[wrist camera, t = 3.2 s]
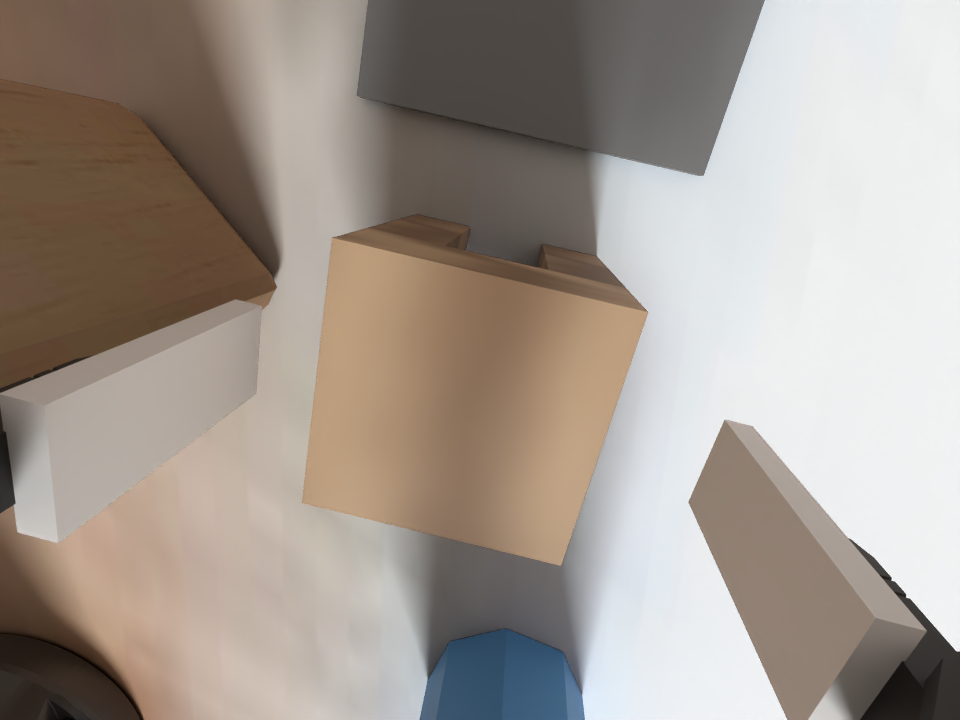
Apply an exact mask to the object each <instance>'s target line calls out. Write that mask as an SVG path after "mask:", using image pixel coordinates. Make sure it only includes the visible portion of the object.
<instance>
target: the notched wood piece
mask: <svg viewBox="0 0 960 720" xmlns="http://www.w3.org/2000/svg"><path fill="white" fill-rule="evenodd" d="M469 232H470V227H469V226H464V225H460V224H456V223H452V222H447V221H443V220H439V219H434V218H430V217H426V216H422V215H417V214H416V215H412V216H409V217H405V218H402V219H398V220H394V221H391V222H387V223H384V224H380V225H376V226H373V227H369V228H366V229H362V230H359V231H355V232H351V233H348V234H344V235H341V236H337V237H333V238H332V244H331V253H330V262H329V271H328V279H327V288H326V297H325V306H324V314H323V323H322V332H321V341H320V349H319V358H318V367H317V376H316V384H315V393H314V402H313V411H312V419H311V428H310V437H309V446H308V455H307V463H306V472H305V481H304V490H303V498H302V503H304V504H308V505H312V506H317V507H321V508H325V509H329V510H333V511H337V512H341V513H345V514H349V515H354V516H358V517H362V518H366V519H370V520H374V521H378V522H382V523H386V524H391V525H395V526H399V527H403V528H407V529H411V530H415V531H419V532H424V533H428V534H432V535H436V536H440V537H444V538H448V539H452V540H456V541H461V542H465V543H469V544H473V545H477V546H481V547H485V548H489V549H494V550H498V551H502V552H506V553H510V554H514V555H518V556H522V557H526V558H531V559H535V560H539V561H543V562H547V563H551V564H555V565H559V566H561V565H562V562H563V559H564V556H565V553H566V550H567V547H568V544H569V541H570V538H571V535H572V533H573V530H574V527H575V524H576V521H577V518H578V515H579V512H580V509H581V506H582V503H583V500H584V498H585V495H586V492H587V489H588V486H589V483H590V480H591V477H592V474H593V471H594V468H595V466H596V463H597V460H598V457H599V454H600V451H601V448H602V445H603V442H604V439H605V436H606V434H607V431H608V428H609V425H610V422H611V419H612V416H613V413H614V410H615V407H616V404H617V401H618V399H619V396H620V393H621V390H622V387H623V384H624V381H625V378H626V375H627V372H628V369H629V367H630V364H631V361H632V358H633V355H634V352H635V349H636V346H637V343H638V340H639V337H640V335H641V332H642V329H643V326H644V323H645V320H646V317H647V314H648V311H647V310H646V309H645V308H644V307H643V306H642V305H641V304H640V303H639V302H638V301H637V299H636V298H635V297H634V296H633V295H632V294H631V293H630V292H629V291H628V290H627V289H626V288H625V286H624V285H623V284H622V283H621V282H620V281H619V280H618V279H617V278H616V277H615V276H614V274H613V273H612V272H611V271H610V270H609V269H608V268H607V267H606V266H605V265H604V264H603V262H602V261H601V260H600V259H599V258H598V257H597V256H593V255H588V254H584V253H580V252H575V251H571V250H567V249H563V248H558V247H554V246H550V245H546V244H543V245H542V249H541V253H540V256H539V260H538V264H537V267H533V266H529V265H525V264H521V263H516V262H512V261H508V260H504V259H499V258H495V257H491V256H487V255H482V254H478V253H474V252H469V251H466V247H467V242H468V237H469Z"/></svg>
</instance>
